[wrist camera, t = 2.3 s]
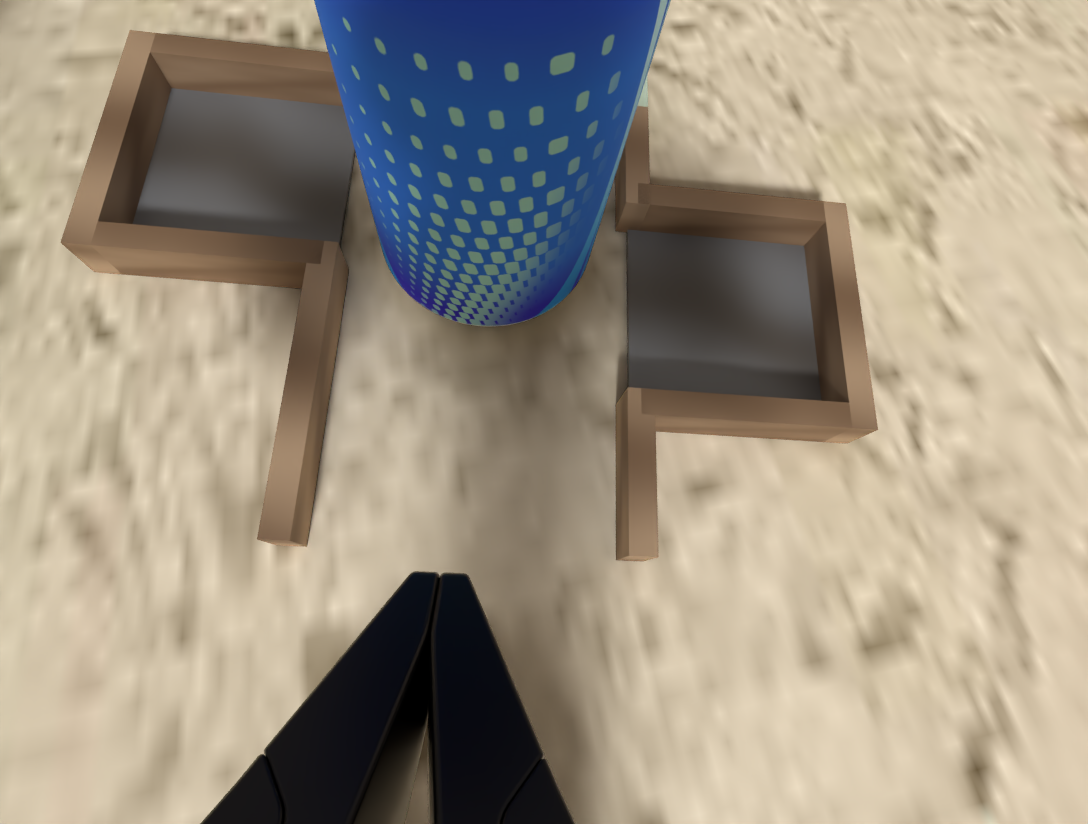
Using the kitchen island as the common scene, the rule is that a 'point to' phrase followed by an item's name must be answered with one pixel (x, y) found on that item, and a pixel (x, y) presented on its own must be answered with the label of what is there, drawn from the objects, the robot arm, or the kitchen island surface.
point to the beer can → (489, 138)
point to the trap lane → (321, 271)
